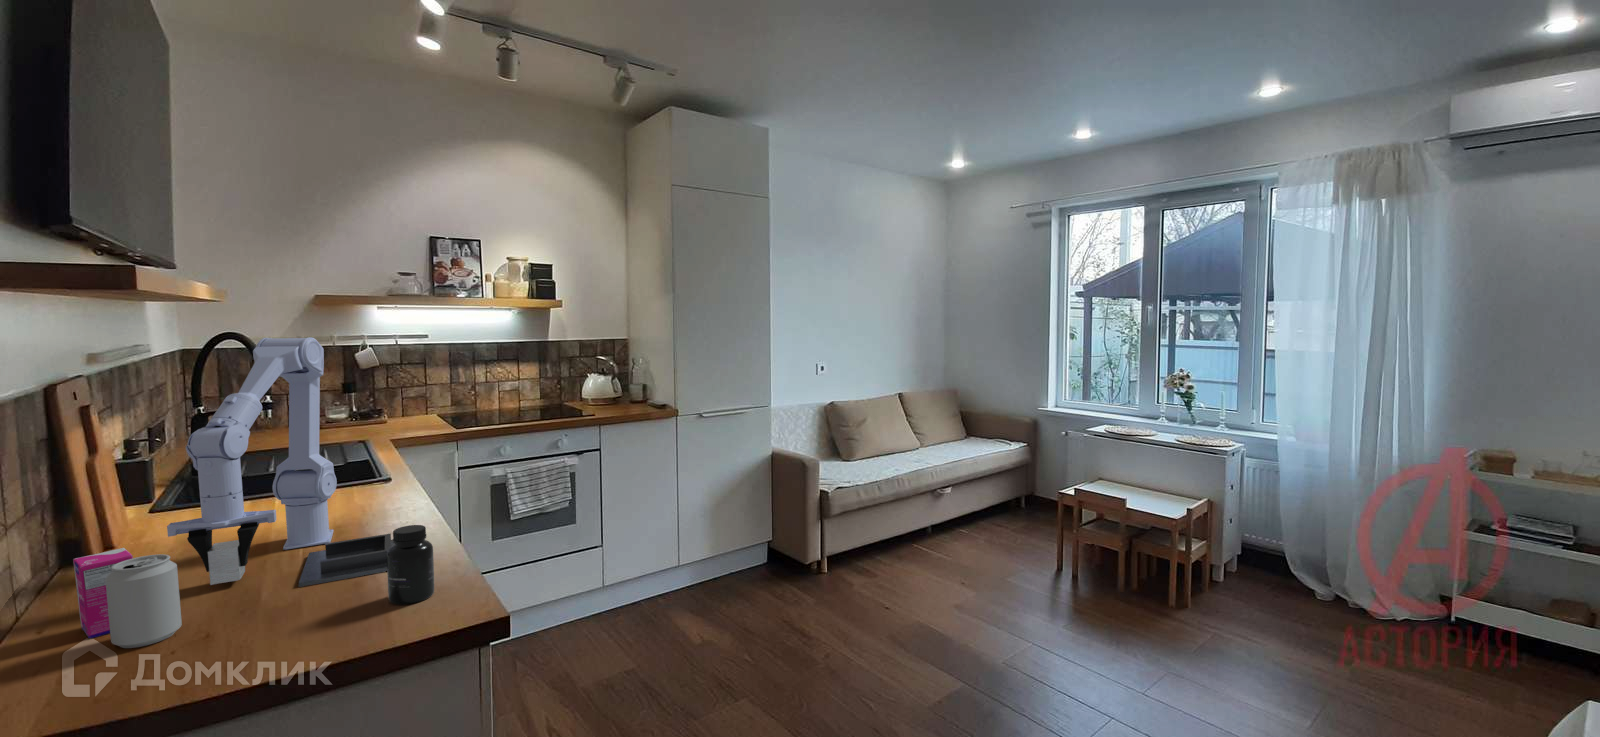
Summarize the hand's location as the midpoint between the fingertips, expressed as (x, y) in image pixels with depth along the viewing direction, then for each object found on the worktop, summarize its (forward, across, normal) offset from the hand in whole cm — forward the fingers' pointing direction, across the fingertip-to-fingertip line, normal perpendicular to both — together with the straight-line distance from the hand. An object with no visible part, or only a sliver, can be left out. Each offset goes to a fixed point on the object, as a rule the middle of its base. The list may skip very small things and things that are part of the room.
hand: (227, 567), depth 117 cm
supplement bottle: (+3, +28, -25) cm, 38 cm away
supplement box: (+3, -12, -12) cm, 17 cm away
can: (+3, -6, -20) cm, 21 cm away
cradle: (+3, +19, 0) cm, 19 cm away
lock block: (+2, 0, 0) cm, 2 cm away
